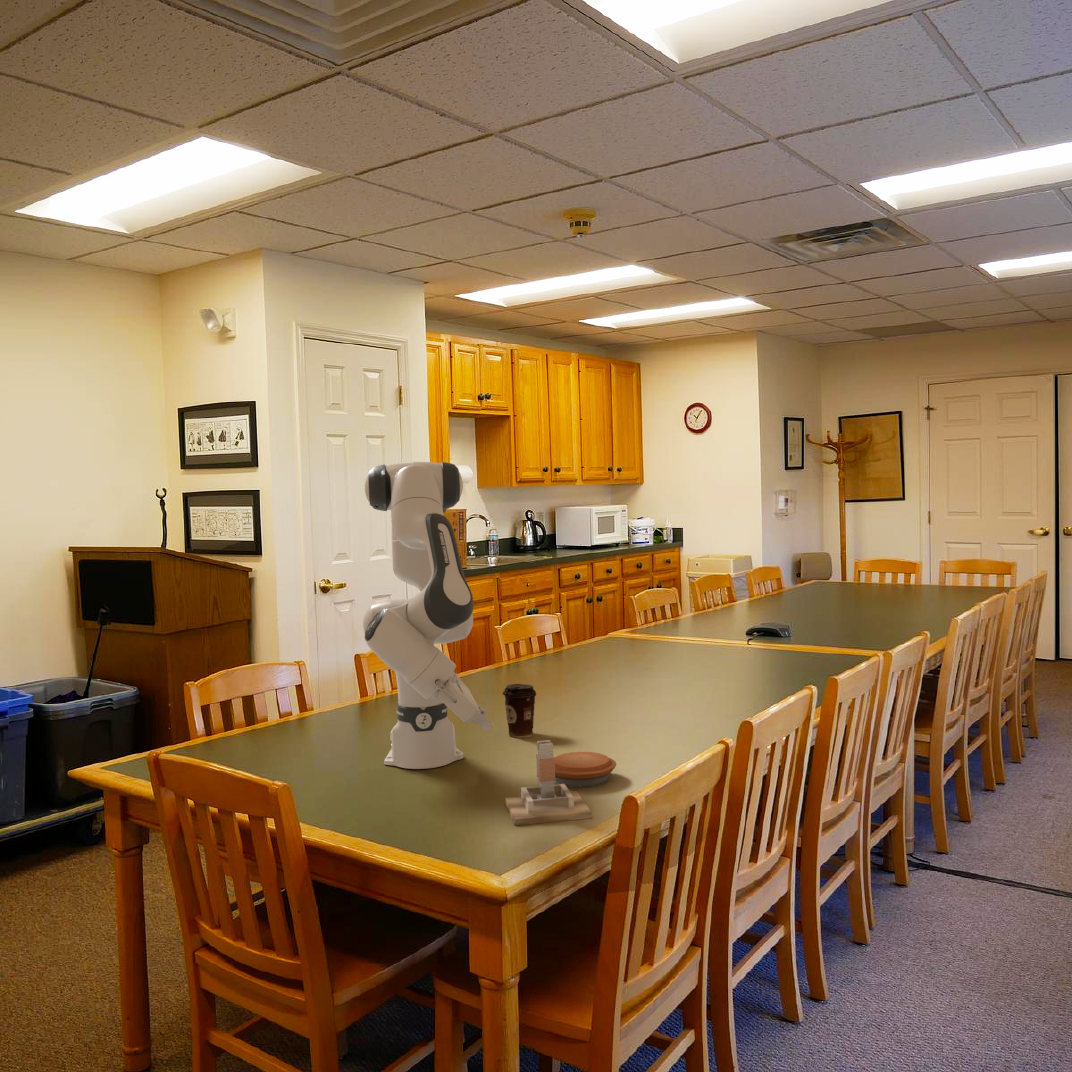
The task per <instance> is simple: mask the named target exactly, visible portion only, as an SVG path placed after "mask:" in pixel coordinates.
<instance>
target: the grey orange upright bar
mask: <svg viewBox="0 0 1072 1072" xmlns="http://www.w3.org/2000/svg"><path fill="white" fill-rule="evenodd" d="M536 745H537V746H536V748H537V754H536V757H535V758H536V777H537V779H538V781H537V782H538V786H539V794H537V795H535V796H536V799H543V798H554V797H556V795H555V793H554V784H555V782H556V780H555V758H554V757H555V756H554V743H553V742H552V741H551V740H550V739H546V740H537V741H536Z"/></svg>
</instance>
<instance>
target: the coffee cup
mask: <svg viewBox="0 0 1072 1072" xmlns="http://www.w3.org/2000/svg"><path fill="white" fill-rule="evenodd" d="M502 695H503V696H504V698H505V701H504V707H505V714H506V722H507V726H508V735H509V736H510V737H513V738H522V739H523V738H530V737H532V736H534V732H533V730H534V719H535V718H534V716H535V704H536V696H537V691H536V690H535V689H534V686H533V685H530V684H524V683H512V684H507V685H506V686H505V688H504V690H503V692H502Z"/></svg>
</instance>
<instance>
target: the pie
mask: <svg viewBox="0 0 1072 1072" xmlns="http://www.w3.org/2000/svg"><path fill="white" fill-rule="evenodd" d="M553 757H554V758H555V782H556V783H557V784H565V785H566V787H567V788H568V787H569V788H591V787H597V786H600V785H603V784H604V783H606V782H607V781H608V779H609V777H610V775H611V773H612V772H613V771H614V770H615V768H616V766H617V762H616V760H614V759H613V758H611V757H608V756H607V755H605V754H604V753H599V752H593V751H591V752H590V751H573V752H567V753H562V754H558V755H556V756H553Z"/></svg>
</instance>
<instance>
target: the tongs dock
mask: <svg viewBox="0 0 1072 1072" xmlns="http://www.w3.org/2000/svg"><path fill="white" fill-rule="evenodd" d="M554 793H555V795H556V797H554V798H543V799H536V796H535V795H537V794H539V785H535V786H534V785H533V786H523V787H522V786H521V787H520V796H511V797H505V798H504V799H505V802H504V803H505V806H506V809H507V810H508V813H509V814H510V817H511V820H512V822H513V824H514V826H521V825H522V826H525V825H533V824H544V823H555V822H564V821H565V822H566V821H574V820H585V819H592V811H591V809H590V808H589V806H588V805H587V804H586V802H585V800H584V799H583V798H582V796H581V794H579V792H578V791H570V790H569V788H568V786H566V785H565V784H559V783H556V784H555V783H554Z"/></svg>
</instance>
